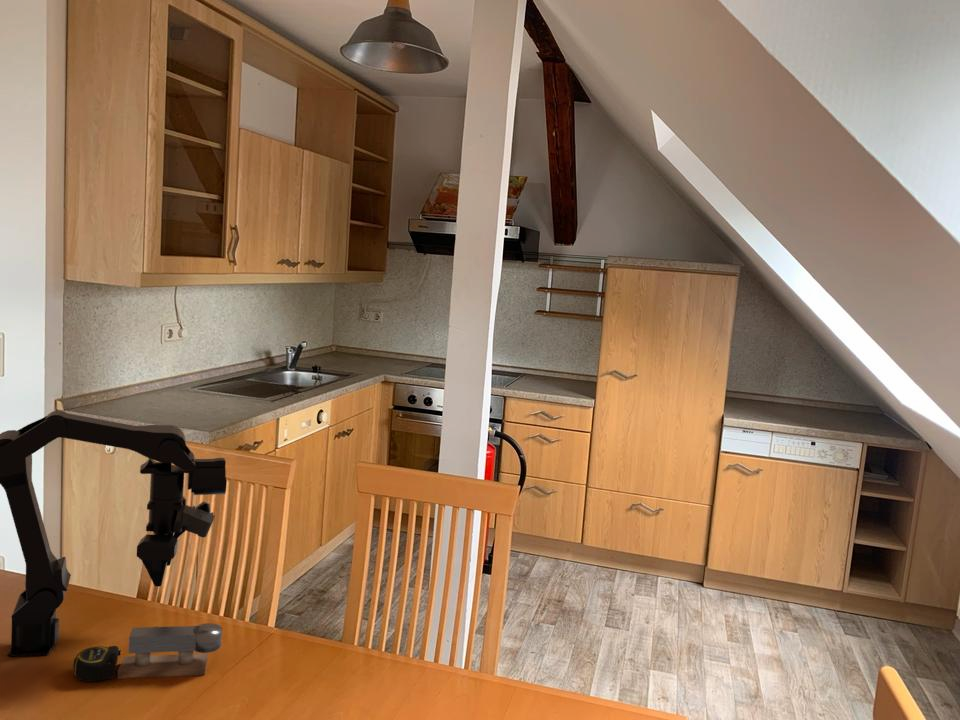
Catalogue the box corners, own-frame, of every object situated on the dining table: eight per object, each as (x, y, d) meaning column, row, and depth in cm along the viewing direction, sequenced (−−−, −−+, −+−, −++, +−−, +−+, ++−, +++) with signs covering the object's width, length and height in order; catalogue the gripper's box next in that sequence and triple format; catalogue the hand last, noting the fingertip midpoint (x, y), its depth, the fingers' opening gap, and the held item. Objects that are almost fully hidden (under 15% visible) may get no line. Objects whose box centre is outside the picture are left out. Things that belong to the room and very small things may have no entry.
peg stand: (117, 678, 130) (118, 656, 129) (123, 662, 135) (124, 641, 134) (204, 674, 134) (205, 653, 133) (207, 659, 138) (208, 638, 138)
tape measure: (114, 684, 129) (115, 663, 128) (69, 687, 127) (69, 666, 126) (120, 662, 135) (121, 642, 135) (77, 665, 133) (78, 645, 132)
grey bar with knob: (127, 655, 130) (128, 639, 130) (132, 641, 135) (133, 625, 134) (220, 652, 134) (221, 636, 134) (222, 638, 138) (223, 622, 138)
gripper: (206, 513, 134) (201, 597, 136) (218, 481, 152) (213, 556, 154) (137, 511, 132) (134, 597, 134) (158, 479, 150) (154, 555, 152)
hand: (162, 575), depth 143 cm, fingers open, 9 cm apart
